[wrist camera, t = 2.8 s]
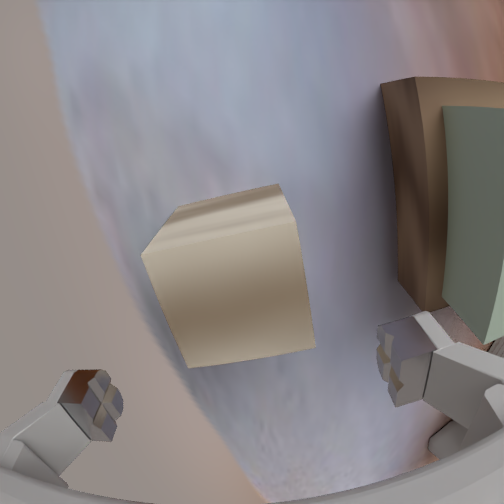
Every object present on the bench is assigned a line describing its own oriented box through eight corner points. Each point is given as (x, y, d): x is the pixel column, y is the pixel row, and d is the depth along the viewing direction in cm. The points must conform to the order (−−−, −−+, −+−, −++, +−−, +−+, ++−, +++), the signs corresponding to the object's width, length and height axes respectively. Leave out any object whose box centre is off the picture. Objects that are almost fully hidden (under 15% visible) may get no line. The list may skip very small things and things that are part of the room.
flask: (433, 454, 27) (457, 516, 18) (419, 438, 25) (448, 512, 16) (482, 421, 25) (513, 480, 16) (476, 400, 23) (515, 470, 14)
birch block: (178, 206, 15) (140, 254, 10) (278, 183, 15) (296, 221, 9) (205, 292, 17) (188, 368, 12) (295, 274, 17) (315, 347, 11)
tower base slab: (377, 84, 13) (414, 76, 9) (514, 89, 12) (556, 92, 9) (394, 277, 17) (424, 313, 14) (516, 243, 17) (550, 266, 13)
